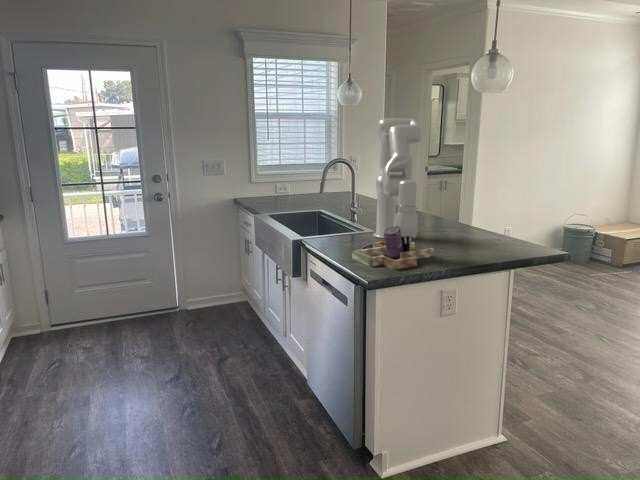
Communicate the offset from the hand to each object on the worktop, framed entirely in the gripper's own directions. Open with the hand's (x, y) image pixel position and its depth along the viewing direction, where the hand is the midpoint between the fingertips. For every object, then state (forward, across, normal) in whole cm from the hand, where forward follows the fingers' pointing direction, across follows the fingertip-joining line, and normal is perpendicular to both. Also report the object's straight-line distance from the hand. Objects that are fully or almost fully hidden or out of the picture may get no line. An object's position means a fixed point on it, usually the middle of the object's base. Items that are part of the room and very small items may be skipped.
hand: (405, 252), depth 205 cm
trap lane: (+2, +5, -2) cm, 5 cm away
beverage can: (+1, +4, -1) cm, 5 cm away
